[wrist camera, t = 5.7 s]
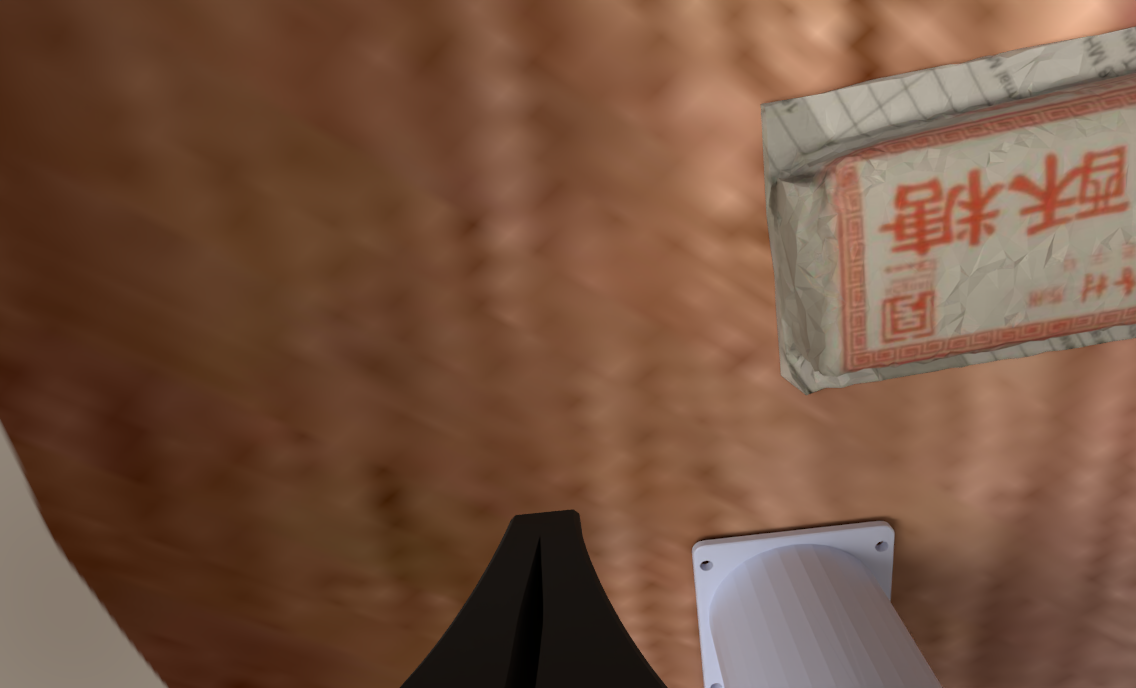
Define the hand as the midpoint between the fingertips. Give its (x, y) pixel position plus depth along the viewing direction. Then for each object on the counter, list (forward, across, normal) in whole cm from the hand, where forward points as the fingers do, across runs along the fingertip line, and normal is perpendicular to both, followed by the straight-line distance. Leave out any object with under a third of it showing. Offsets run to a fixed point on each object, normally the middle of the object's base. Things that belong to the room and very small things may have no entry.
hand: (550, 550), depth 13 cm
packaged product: (+11, -16, -3) cm, 20 cm away
